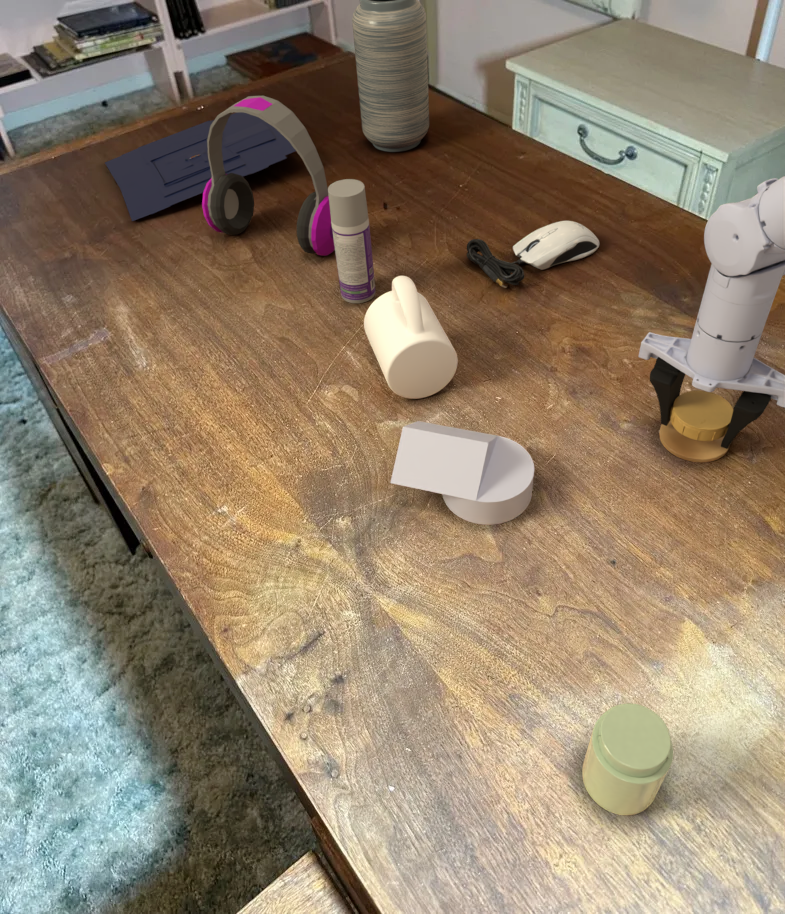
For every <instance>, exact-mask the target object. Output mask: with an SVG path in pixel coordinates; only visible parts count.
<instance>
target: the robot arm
mask: <svg viewBox="0 0 785 914" xmlns="http://www.w3.org/2000/svg"><path fill="white" fill-rule="evenodd" d="M756 191H757V193H755V194H754V195H753V196H752V197H749V198H747V199H744V200H740V201H737V202H727V203H723V204H720V205H719V206H718V208H717V209H716V210H715V211H714V212H713V213H712V214H711V215H710V216H709V217H708V220H707V222H706V224H705V228H704V231H703V232H704V233H703V244H704V249H705V252H706V256H707V258H708V260H709V262H710V263H711V264H710V268H709V271H708V276H707V280H706V282H705V287H704V291H703V294H702V298H701V302H700V306H699V308H698V312H697V317H696V320H695V323H694V327H693V331H692V334H691V338H687V337H677V336H671V335H663V334H658V333H654V332H651V331H648V332H647V334H646V335H645V337H644V338H643V339H642V340H641V342H640V347H639V350H638V358H640V359H643V360H646V361H649V360H650V359H651V358H652V359H656V360H655V363H654V365H653V368H652V369H651V370H650V373H649V382H650V383H651V385H652V387H653V389H654V391H655V393H656V396H657V400H658V405H659V411H660V424H661V425H662V424H663V425H665V426H667V425H668V423H669V422H670V412H671V408H672V406H673V404H674V401H675V399H676V398H677V397H678V396H679V395H681V391H682V390H681V389H682V386H683V382H684V380H685V377H686V376H687V377H689V378H691V379H692V381H691V386H692V387H693V388H695V389H697V390H700V391H706V392H711V393H714V391H715V390H716V389H723V390H724V389H726V390H733V391H742V393H741V394H740V396H739V397H738V399H737V400H736V403H735V404H734V406H733V407H732V408H733V414H732V418H731V421H730V425H729V428H728V430H727V432H726V434H725V436H724V438H723V440H722V443H721V447H723V448H726V449H728V448H729V449H730V446H731V444H732V442H733V441H734V439H735V438H736V437H737V436H738V434H739V433H740V432H741V431H742V430H743V429H745V428H746V427H747V426H748V425H750V424H752V423H753V422H754V421H756V420H757V419H759V418H761V416H762V415H763V414H764V412H765V411H766V408H767V407H768V405H769V403H770V402H771V400H775V401H776V405H777V406H778V407H781V408H784V409H785V374H784V373H781V372H780V371H778V370H777V369H775V368H773V367H771V366H769V365H768V364H766V363H764V362H763V361H762V360H760V359H757V358H756V357H755V355H756V352H757V349H758V346H759V343H760V341H761V338H762V335H763V332H764V329H765V325H766V323H767V320H768V318H769V315H770V312H771V309H772V306H773V303H774V300H775V298H776V294H777V292H778V289H779V286H780V283H781V281H782V278H783V277H784V276H785V175H783V176H782V177H780V178H779V179H778V178H777V177H773V178H770V179H766V180H764V181H763V182H761V183H760V184H758V185H757V187H756ZM729 449H728V450H729Z"/></svg>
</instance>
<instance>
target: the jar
mask: <svg viewBox="0 0 785 914" xmlns="http://www.w3.org/2000/svg"><path fill="white" fill-rule="evenodd" d="M673 761H674V745H673V741H672V737H671V733H670V730H669V728H668V726H667V724H666V722H665V721H664V720H663V718H662V717H661V716H660V715H659V714H658V713H656V712H655V711H654V710H652V709H651V708H649V707H647V706H645V705H641V704H639V703H632V702H625V703H619V704H617V705H614V706H611V707H610V708H608V709H607V710H606V711H605V712H604V713H603V714H601V715H600V716H599V717H598V719H597V720H596V722H595V724H594V726H593V728H592V731H591V735H590V738H589V743H588V746H587V749H586V752H585V756H584V759H583V762H582V767H581V768H582V769H581V775H582V781H583V785H584V788H585V789H586V791H587V793H588V795H589V796H590V798H591V799H592V801H594V802H595V804H596V805H598V806H599V807H600V808H602V809H603V810H606V811H607V812H609V813H612V814H614V815H618V816H634V815H638V814H640V813H642V812H644V811H645V810H647V809H648V808H649V807H650V806H651V805H652V804H653V802H654V800H655V798H656V797H657V794H658V793H659V790H660V789H661V786H662V785H663V783H664V780H665V778H666V776H667V774H668V772H669V770H670V768H671V766H672V764H673Z"/></svg>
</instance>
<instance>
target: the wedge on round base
mask: <svg viewBox="0 0 785 914" xmlns="http://www.w3.org/2000/svg"><path fill="white" fill-rule="evenodd" d="M398 442H399V443H398V447H397V451H396V455H395V461H394V464H393V469H392V473H391V478H390V482H389V484H393V485H398V486H402V487H407V488H411V489H417V490H422V491H427V492H431V493H436V494H441V495H442V499H443V501H444V503H445V505H446V507H447V508H448V509H449V511H451V512H452V513H453V514H454V515H456V517H458V518H460V519H462V520H464V521H466V522H469V523H473V524H475V525H477V524H478V525H484V526H492V525H493V526H494V525H500V524H504V523H507V522H511V521H513V520H515V519H516V518H518V517H519V516H520V515H521V514H523V513H524V512H525V511H526V509H527V508H528V507H529V505H530V503H531V500H532V498H533V497H532V496H533V486H534V477H535V464H534V460H533V458H532V456H531V454H530V453H529V451H528V450H526V448H525V447H524V446H523V445H521V444H520V443H518V442H517V441H515V440H513V439H511V438H508V437H505V436H501V435H497V434H491V433H486V432H480V431H475V430H469V429H464V428H459V427H454V426H447V425H444V424H443V425H442V424H437V423H432V422H427V421H422V420H421V421H420V420H417V421H414V422H411V423H408V424H407V425H404V426H402V429H401V434H400V438H399V441H398Z"/></svg>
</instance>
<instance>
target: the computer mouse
mask: <svg viewBox="0 0 785 914" xmlns="http://www.w3.org/2000/svg"><path fill="white" fill-rule="evenodd" d="M599 247H600V240H599V238H598V237H597V236H596V234H594V232H593V231H591V230H590V229H589V228H588V227H586V226H585V225H584V224H582V223H579V222H576V221H573V220H560V221H556V222H552V223H550V224H547V225H544V226H542V227H539V228H537V229H536V230H534V231H532V232H530V233H529V234H527V235H526V236H524V237H522V239H520V240H519V241H517V242H516V243H515V244H513V246H512V250H513V253H514V254H515V256H516V257H518V259H517V260H516V261H513V262H509V261H506V260H502V259H499V258H497V257H496V256H495V255H493V253H492V251H491V249H490V247H489V245H488V244H487V242H486V241H485V240H483V239H480V238H473V239H470V240H469V241H468V242H467V244H466V251H467V252H466V257H467V259H468V260H469V261H470V262H473V263H474V264H475V265H478V266H479V268H480V269H481V270H482V271H483V272H484V273H485V274H486V276H487V277H489V278H490V279H491V280H492V281H493V283H496V284H498V285H499V286H500V287H501V288H503V289H507V288H508V286H509V285H512V286H519V285H520V282H522V281H524V279H525V276H526V274H525V272H524V269H523V268H522V267H521V265H524V264H528V265H530V266H532V267H534V268H536V269H538V270H540V271H541V270H542V271H543V270H547V269H549V268H551V267H553V266H556V265H560V264H563V263H569V262H573V261H577V260H581V259H583V258H586V257H589V256H590V255H592V254H594V253H595V252H596V251H597V250H598V248H599ZM478 252H480V253H478Z"/></svg>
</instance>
